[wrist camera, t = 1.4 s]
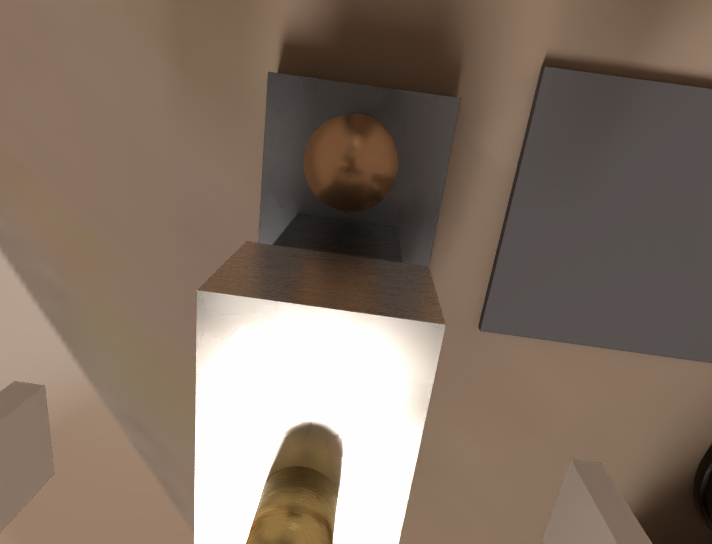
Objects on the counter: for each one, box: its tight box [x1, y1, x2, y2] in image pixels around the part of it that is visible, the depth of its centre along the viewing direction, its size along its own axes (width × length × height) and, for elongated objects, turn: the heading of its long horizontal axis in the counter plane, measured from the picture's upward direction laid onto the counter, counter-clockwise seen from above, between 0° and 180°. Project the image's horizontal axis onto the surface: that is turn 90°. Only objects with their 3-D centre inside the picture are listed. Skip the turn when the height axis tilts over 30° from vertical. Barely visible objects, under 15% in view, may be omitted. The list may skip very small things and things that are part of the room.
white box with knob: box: [194, 241, 446, 544], centre depth 13 cm, size 8×6×6 cm
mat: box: [479, 66, 712, 363], centre depth 19 cm, size 11×11×1 cm
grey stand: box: [258, 72, 461, 266], centre depth 17 cm, size 20×7×8 cm, turn 173°
